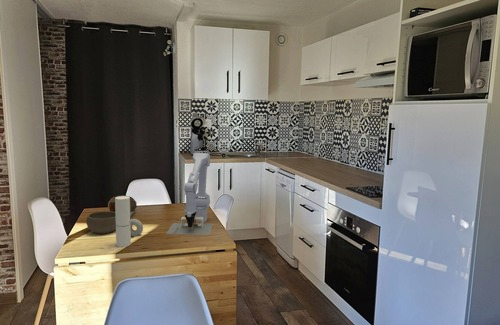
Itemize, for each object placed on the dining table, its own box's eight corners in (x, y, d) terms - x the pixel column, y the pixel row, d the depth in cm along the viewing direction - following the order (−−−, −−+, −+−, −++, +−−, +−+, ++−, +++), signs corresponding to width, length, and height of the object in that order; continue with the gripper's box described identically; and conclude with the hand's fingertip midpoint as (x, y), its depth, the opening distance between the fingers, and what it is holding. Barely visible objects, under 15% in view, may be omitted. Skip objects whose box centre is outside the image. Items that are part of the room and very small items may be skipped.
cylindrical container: (132, 242, 195) (131, 196, 192) (128, 247, 188) (127, 199, 185) (118, 242, 195) (117, 196, 191) (114, 246, 188) (113, 199, 184)
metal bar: (175, 228, 218) (175, 226, 217) (177, 228, 218) (177, 226, 218) (172, 233, 208) (172, 231, 208) (174, 233, 208) (174, 231, 208)
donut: (124, 236, 204) (124, 219, 202) (127, 234, 207) (127, 217, 206) (141, 238, 202) (141, 220, 200) (144, 236, 205) (144, 218, 204)
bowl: (125, 228, 218) (125, 211, 217) (106, 237, 201) (106, 220, 200) (101, 225, 222) (100, 209, 221) (80, 234, 205) (79, 217, 204)
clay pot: (142, 193, 259) (129, 194, 234) (143, 214, 258) (131, 218, 233) (121, 195, 259) (106, 196, 234) (123, 217, 258) (108, 220, 233)
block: (190, 223, 227) (190, 217, 227) (196, 223, 227) (196, 217, 227) (189, 225, 223) (189, 219, 223) (196, 225, 223) (196, 219, 223)
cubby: (172, 224, 228) (172, 214, 227) (213, 224, 228) (213, 214, 227) (166, 235, 207) (165, 224, 206) (210, 236, 207) (210, 225, 207)
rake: (187, 225, 223) (187, 214, 222) (197, 225, 223) (197, 214, 222) (185, 230, 214) (185, 218, 213) (195, 230, 214) (195, 219, 213)
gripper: (185, 199, 219) (185, 221, 221) (181, 205, 205) (182, 229, 207) (197, 199, 219) (197, 221, 221) (194, 205, 205) (194, 229, 207)
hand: (190, 225), depth 214 cm, fingers open, 5 cm apart
